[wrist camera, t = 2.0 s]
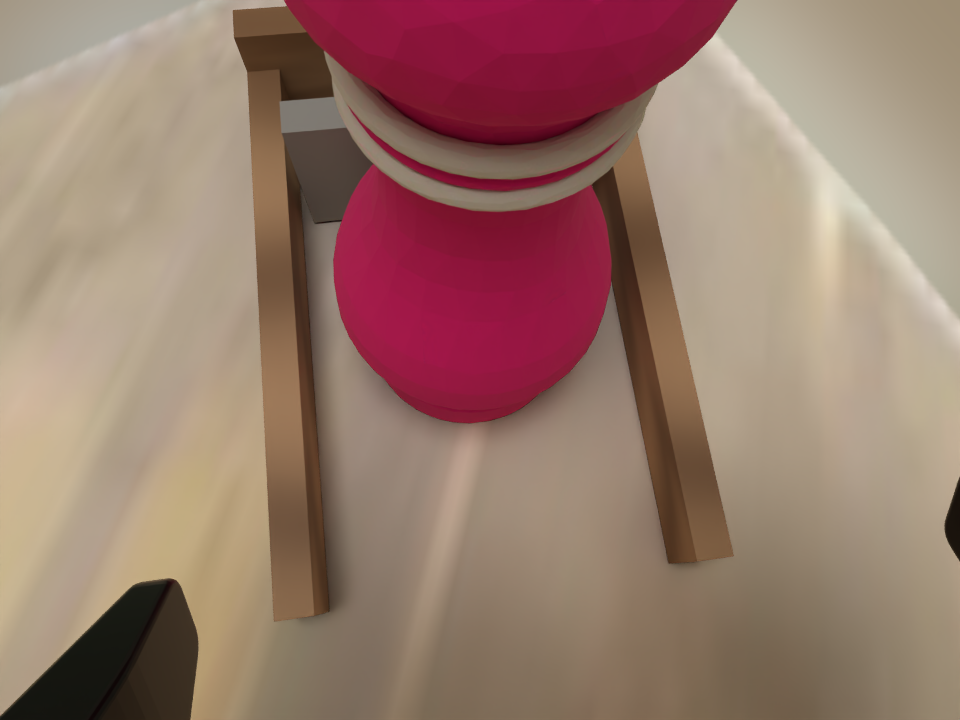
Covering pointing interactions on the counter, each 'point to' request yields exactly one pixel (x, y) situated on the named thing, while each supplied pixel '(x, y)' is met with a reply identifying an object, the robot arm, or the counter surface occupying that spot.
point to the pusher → (322, 155)
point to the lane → (287, 345)
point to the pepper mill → (487, 180)
